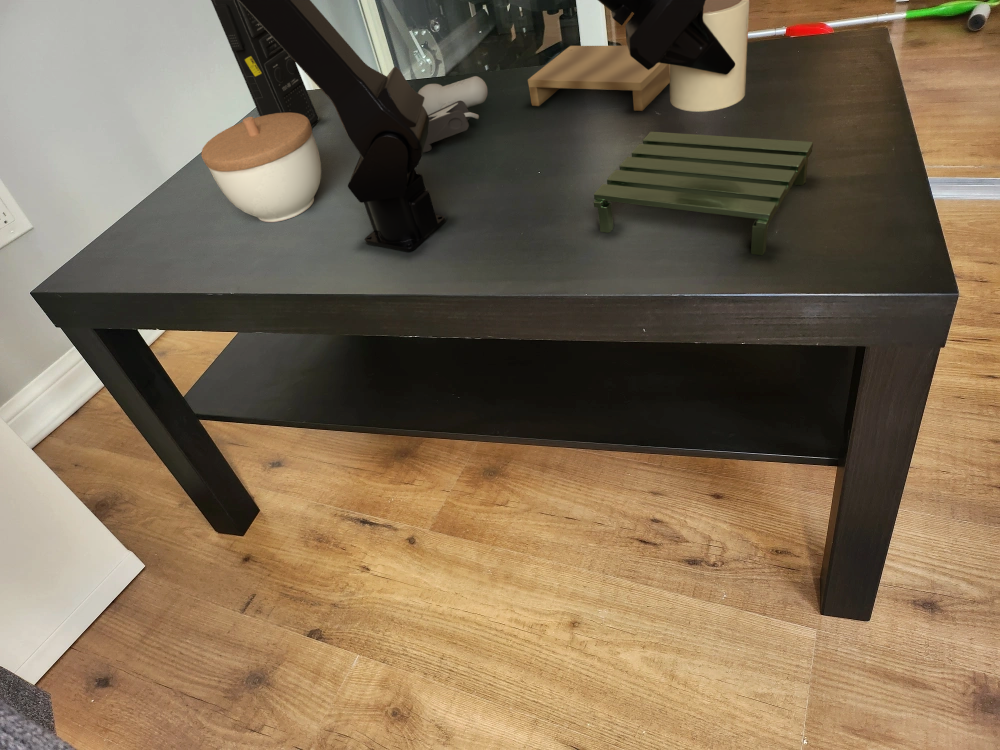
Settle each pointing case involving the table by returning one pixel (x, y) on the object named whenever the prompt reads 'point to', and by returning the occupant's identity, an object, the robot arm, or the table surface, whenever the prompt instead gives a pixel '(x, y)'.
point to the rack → (708, 177)
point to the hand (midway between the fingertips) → (723, 55)
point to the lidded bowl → (267, 165)
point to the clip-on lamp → (451, 107)
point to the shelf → (599, 74)
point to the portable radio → (264, 64)
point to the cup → (711, 89)
